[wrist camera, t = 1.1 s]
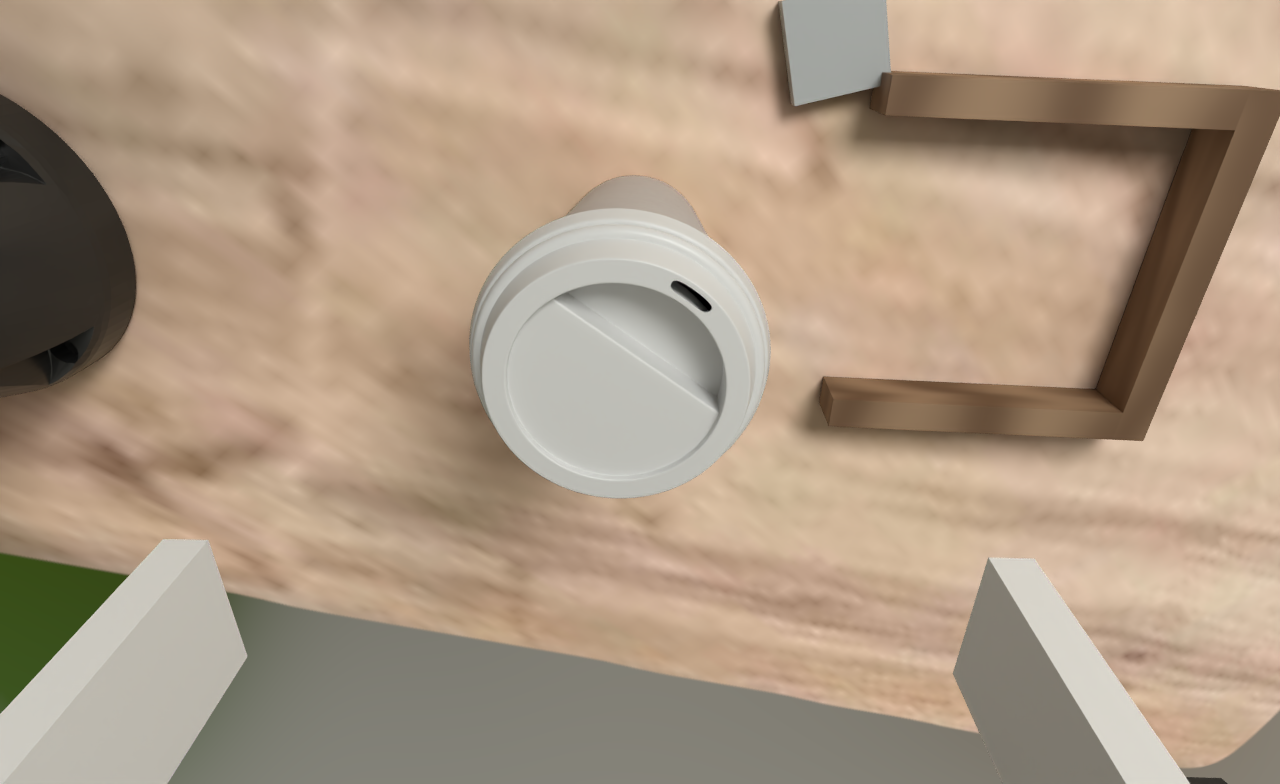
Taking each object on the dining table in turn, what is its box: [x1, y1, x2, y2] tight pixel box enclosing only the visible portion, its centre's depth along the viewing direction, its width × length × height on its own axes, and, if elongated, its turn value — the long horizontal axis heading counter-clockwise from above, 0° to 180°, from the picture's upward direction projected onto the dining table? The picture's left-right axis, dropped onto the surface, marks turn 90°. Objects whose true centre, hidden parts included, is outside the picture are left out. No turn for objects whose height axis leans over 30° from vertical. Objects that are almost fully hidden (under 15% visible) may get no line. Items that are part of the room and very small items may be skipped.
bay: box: [819, 71, 1280, 441], centre depth 33 cm, size 16×16×2 cm
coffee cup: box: [469, 175, 771, 498], centre depth 28 cm, size 10×10×15 cm
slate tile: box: [778, 0, 891, 106], centre depth 30 cm, size 4×4×1 cm
